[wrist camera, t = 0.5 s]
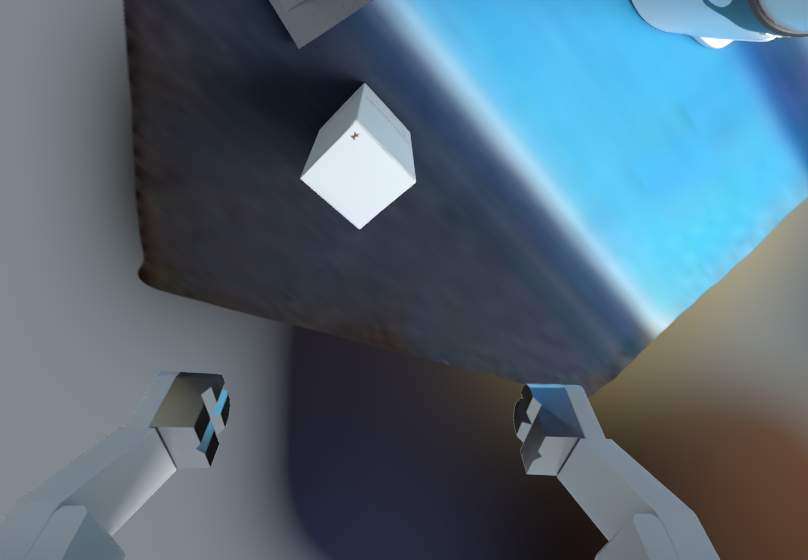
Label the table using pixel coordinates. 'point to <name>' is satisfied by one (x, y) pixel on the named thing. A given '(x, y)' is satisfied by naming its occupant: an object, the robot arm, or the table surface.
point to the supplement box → (361, 158)
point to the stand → (313, 16)
